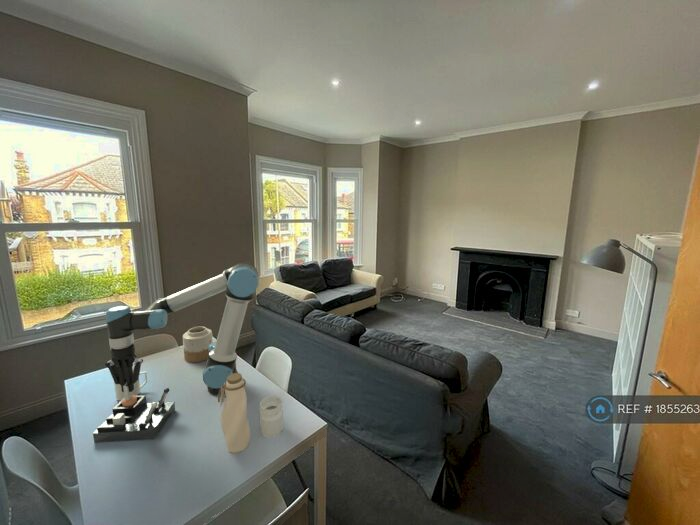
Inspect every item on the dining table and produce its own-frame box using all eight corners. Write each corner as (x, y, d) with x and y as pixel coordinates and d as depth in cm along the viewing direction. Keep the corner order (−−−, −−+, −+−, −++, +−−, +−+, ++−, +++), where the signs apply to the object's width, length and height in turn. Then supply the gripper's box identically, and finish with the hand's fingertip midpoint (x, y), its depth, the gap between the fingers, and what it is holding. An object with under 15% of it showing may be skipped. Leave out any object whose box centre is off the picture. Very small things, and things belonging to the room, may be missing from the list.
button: (140, 403, 121) (139, 394, 120) (132, 411, 116) (131, 402, 115) (127, 403, 120) (126, 395, 119) (120, 411, 115) (119, 402, 115)
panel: (175, 409, 125) (174, 393, 123) (154, 439, 108) (152, 421, 107) (123, 411, 122) (121, 396, 121) (94, 442, 106) (91, 425, 105)
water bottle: (222, 459, 100) (217, 388, 95) (220, 441, 108) (215, 374, 103) (252, 449, 105) (249, 380, 100) (248, 432, 113) (245, 367, 108)
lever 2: (164, 403, 121) (171, 387, 120) (160, 408, 118) (168, 391, 117) (159, 402, 120) (166, 385, 119) (155, 406, 118) (163, 389, 117)
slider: (125, 422, 111) (124, 413, 110) (120, 427, 108) (119, 418, 108) (118, 422, 111) (117, 413, 110) (113, 428, 108) (112, 418, 107)
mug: (117, 405, 126) (114, 382, 124) (115, 395, 133) (112, 373, 131) (150, 393, 134) (147, 372, 132) (146, 385, 141) (144, 364, 139)
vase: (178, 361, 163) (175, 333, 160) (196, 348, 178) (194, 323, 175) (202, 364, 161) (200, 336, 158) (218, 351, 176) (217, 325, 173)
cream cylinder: (259, 424, 117) (258, 398, 115) (280, 419, 120) (280, 393, 118) (261, 440, 109) (260, 412, 107) (284, 433, 113) (284, 406, 110)
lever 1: (152, 418, 112) (159, 401, 111) (148, 424, 109) (155, 406, 108) (147, 417, 112) (154, 399, 111) (142, 422, 109) (150, 404, 108)
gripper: (145, 340, 117) (151, 391, 122) (111, 341, 116) (118, 393, 120) (134, 349, 110) (140, 403, 114) (97, 350, 109) (105, 405, 113)
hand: (129, 398), depth 117 cm, fingers closed
